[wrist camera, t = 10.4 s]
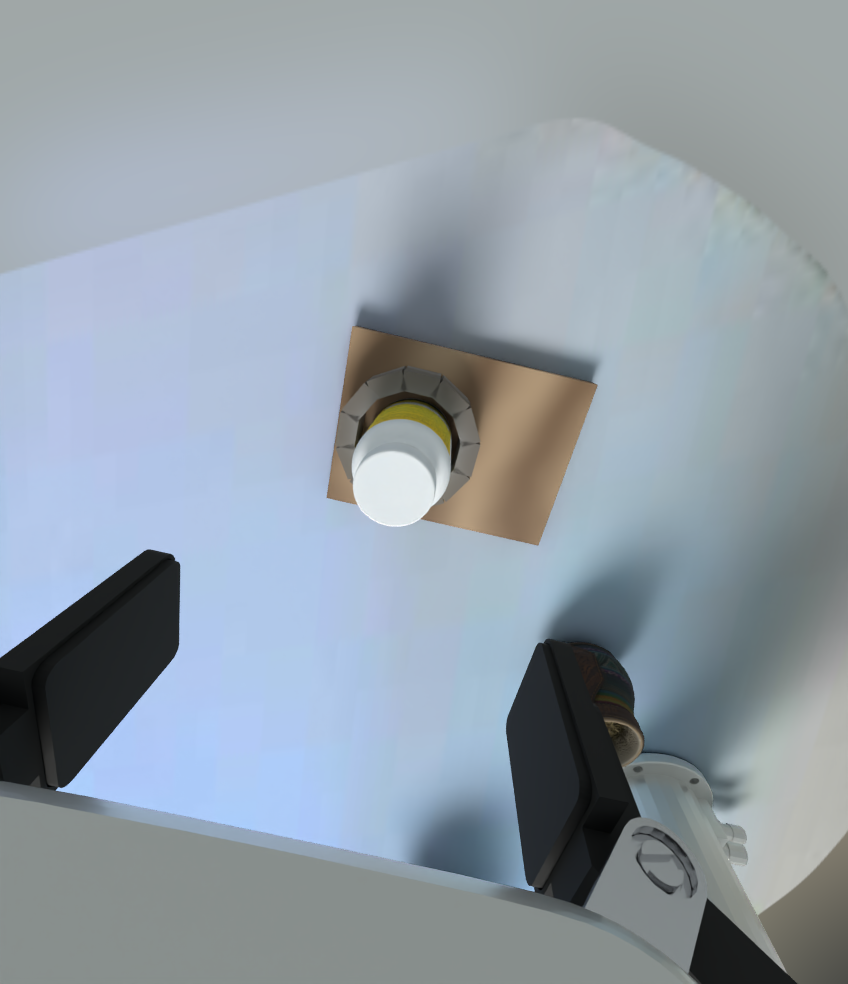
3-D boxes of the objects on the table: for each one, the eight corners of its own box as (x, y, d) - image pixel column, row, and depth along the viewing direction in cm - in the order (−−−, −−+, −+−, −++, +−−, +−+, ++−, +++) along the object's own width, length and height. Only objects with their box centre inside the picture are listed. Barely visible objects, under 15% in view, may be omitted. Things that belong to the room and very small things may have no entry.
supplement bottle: (369, 397, 29) (332, 434, 20) (451, 396, 29) (451, 433, 19) (375, 474, 31) (343, 539, 22) (451, 473, 31) (451, 540, 21)
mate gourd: (633, 672, 38) (691, 788, 29) (555, 705, 40) (586, 824, 31) (594, 615, 36) (643, 721, 27) (514, 654, 38) (534, 764, 29)
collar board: (591, 382, 29) (611, 391, 25) (535, 537, 33) (545, 563, 30) (356, 325, 28) (343, 327, 25) (330, 491, 33) (317, 511, 29)
